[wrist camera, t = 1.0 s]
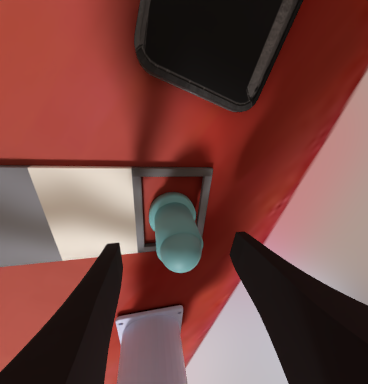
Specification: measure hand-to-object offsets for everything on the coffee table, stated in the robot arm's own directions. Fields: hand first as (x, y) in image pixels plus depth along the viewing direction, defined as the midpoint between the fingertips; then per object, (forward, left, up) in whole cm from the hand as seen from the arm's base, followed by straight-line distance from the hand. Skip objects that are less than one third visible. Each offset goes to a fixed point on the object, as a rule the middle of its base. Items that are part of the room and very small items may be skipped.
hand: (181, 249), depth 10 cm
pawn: (0, 0, -4) cm, 4 cm away
